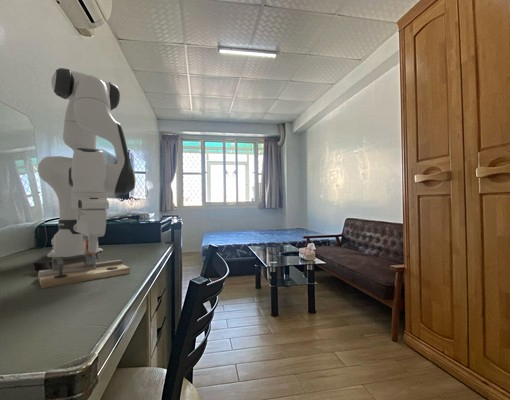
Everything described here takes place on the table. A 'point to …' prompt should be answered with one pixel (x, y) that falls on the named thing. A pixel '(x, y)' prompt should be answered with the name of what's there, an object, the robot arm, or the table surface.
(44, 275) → the hole plate
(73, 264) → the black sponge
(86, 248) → the block
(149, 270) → the table surface
